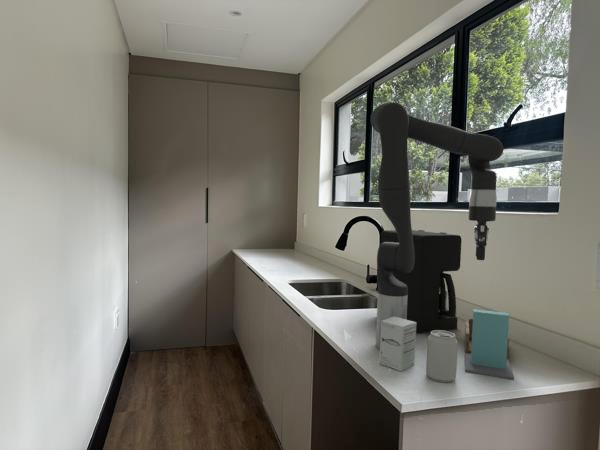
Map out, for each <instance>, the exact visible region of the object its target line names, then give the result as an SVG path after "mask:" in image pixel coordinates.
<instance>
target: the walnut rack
mask: <svg viewBox="0 0 600 450" xmlns="http://www.w3.org/2000/svg"><path fill="white" fill-rule="evenodd" d="M464 323H465V325H464V327H465V328H464V354H465V353H468V354H471V347H472V328H473V317H472V318H471V317H470V318H468V320H465V322H464ZM509 346H510V338H509V337H508V343H507V359H509V348H510V347H509Z"/></svg>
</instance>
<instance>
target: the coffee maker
mask: <svg viewBox="0 0 600 450" xmlns="http://www.w3.org/2000/svg"><path fill="white" fill-rule="evenodd" d="M412 236H413V243H414V252H415V263H414V268H413V270H412V271H411V272H410V273H398V272H392V274H393V276H394V277H395V278H396V279H398V280H399V281H401V282H403V283H404V284H406V285H407V286H408V300H407V320H410V321H414V322H417V324H416V334H418V335H420V334H427V333H430V332H431V331H433V330H444V331H448V330H457V329H458V317H457V300H456V298H457V297H456V290H455V284H454V281H453V277H452V275H451V273H446V272H456V271H459V270H460V268H461V261H462V259H461V257H462V237H461V235H459V234H452V233H451V234H450V233H448V232H441V231H440V232H435V231H434V232H433V231H425V230H424V229H423V230H422V229H418V230H413V229H412ZM383 242H394V243H399V240H398V235H397V232H396V230H395V229H393V230H392V229H391V230H385V229H384V230H382V231H381V233H380V244H381V243H383ZM446 289H447V290H446Z"/></svg>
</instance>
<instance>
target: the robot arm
mask: <svg viewBox="0 0 600 450" xmlns="http://www.w3.org/2000/svg"><path fill="white" fill-rule="evenodd" d="M370 124H371V127H372V128H373V130H374V131H375V132H376V133H377V134H379V137H380V145H381V161H380V166H379V172H378V179H377V188H378V189H377V192H378V193H377V194H378V200H379V205H380V209H382V211H383V212H384V214H385V216H386V217H387V219H388V220H389V221H390V222H391V224H392V226H393V227H394V230H396V232H397V235H398V240H399V243H394V242H383V243H381V242H380V245H379V247H378V250H377V255H376V274H377V275H376V284H377V302H376V303H377V306H376V307H377V308H376V330H375V331H376V332H375V334H376V335H375V347H376V348H377V349H378V350H379V351H380V337H381V321H382V320H385V319H388V318H391V317H398V318H402V319H406V320H407V300H408V286H407V285H406V284H404V283H403V282H401V281H399V280H398V279H396V278H395V277H394V276H393V274H392V272H398V273H410V272H411V271H412V270H413V268H414V263H415V252H414V243H413V236H412V230H413V228H412V220H411V219H412V215H411V212H412V211H411V186H410V185H411V184H410V171H409V169H410V168H409V159H408V141H409V140H408V139H411V140H415V141H418V142H421V143H424V144H427V145H429V146H431V147H434V148H436V149H439V150H444V151H446V152H449V153H453V154H456V155H467V159H468V167H469V171H470V176H471V180H470V182H471V183H470V192H469V193H470V194H469V204H468V205H469V206H468V220H469V221H472V222H475V221H476V222H477V223H476V226H473V227H474V229H473V231H474V241H475V242H474V243H475V257H476V260H478V261H484V260H485V259H486V258H485V257H486V247H487V242H488V241H489V231H490V228H489V226H488V225H487V223H488V222H495V221H496V219H497V218H496V217H497V216H496V215H497V201H498V200H497V182H498V181H497V180H498V179H497V176H498V175H497V172H496V171H495V170H491V165H490V162H494V161H497V160H498V159H500V158H501V156H502V155H503V153H504V145H503V143H502V142H501V140H500V139H498V138H497V137H494V136H491V135H487V134H482V133H476V132H475V133H474V132H469V131H466V130H463V129H461V128H457V127H455V126H451V125H448V124H445V123H444V124H443V123H439V122H435V121H430V120H427V119H422V118H418V117H416V116H413V115H411V114H408V111H407V109H406V107H405V106H403V105H402V104H401V103H399V102H395V101H394V102H391V101H390V102H385V103H382V104H379V105H377V106H376V107H375V108H374V109H373V111H372V113H371V115H370Z"/></svg>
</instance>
